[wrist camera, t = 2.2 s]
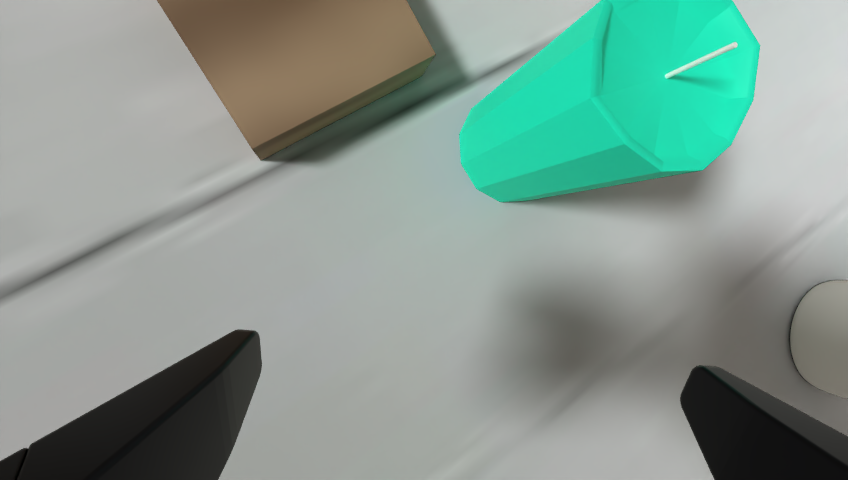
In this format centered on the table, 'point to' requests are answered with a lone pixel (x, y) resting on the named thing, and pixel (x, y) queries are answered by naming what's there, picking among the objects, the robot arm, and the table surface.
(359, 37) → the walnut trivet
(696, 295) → the table surface
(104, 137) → the table surface
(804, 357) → the pill bottle
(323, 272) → the table surface
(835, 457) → the robot arm
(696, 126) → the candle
